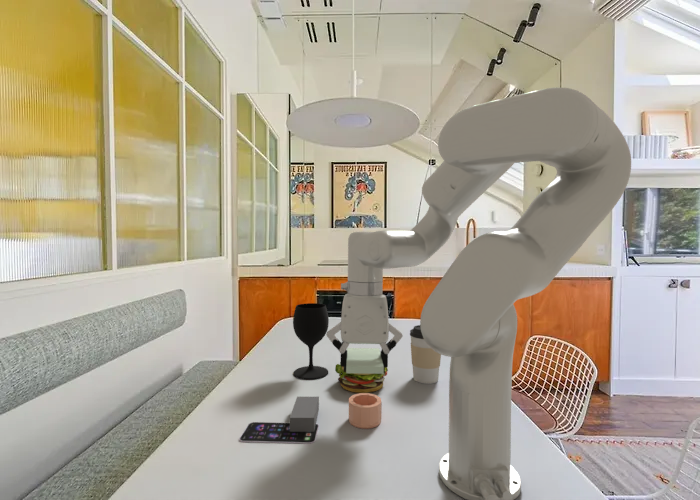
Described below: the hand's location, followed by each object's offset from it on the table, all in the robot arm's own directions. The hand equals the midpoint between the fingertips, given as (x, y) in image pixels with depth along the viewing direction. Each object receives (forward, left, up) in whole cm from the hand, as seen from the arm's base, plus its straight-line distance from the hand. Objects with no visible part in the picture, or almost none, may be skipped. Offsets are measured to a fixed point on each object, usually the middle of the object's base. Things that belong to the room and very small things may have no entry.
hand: (363, 369), depth 78 cm
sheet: (0, 0, +1) cm, 1 cm away
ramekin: (0, 0, -11) cm, 11 cm away
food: (+20, 0, -11) cm, 23 cm away
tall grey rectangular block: (0, +13, -11) cm, 17 cm away
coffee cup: (+24, -18, -11) cm, 32 cm away
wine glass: (+28, +15, -11) cm, 33 cm away
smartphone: (-5, +17, -12) cm, 21 cm away
